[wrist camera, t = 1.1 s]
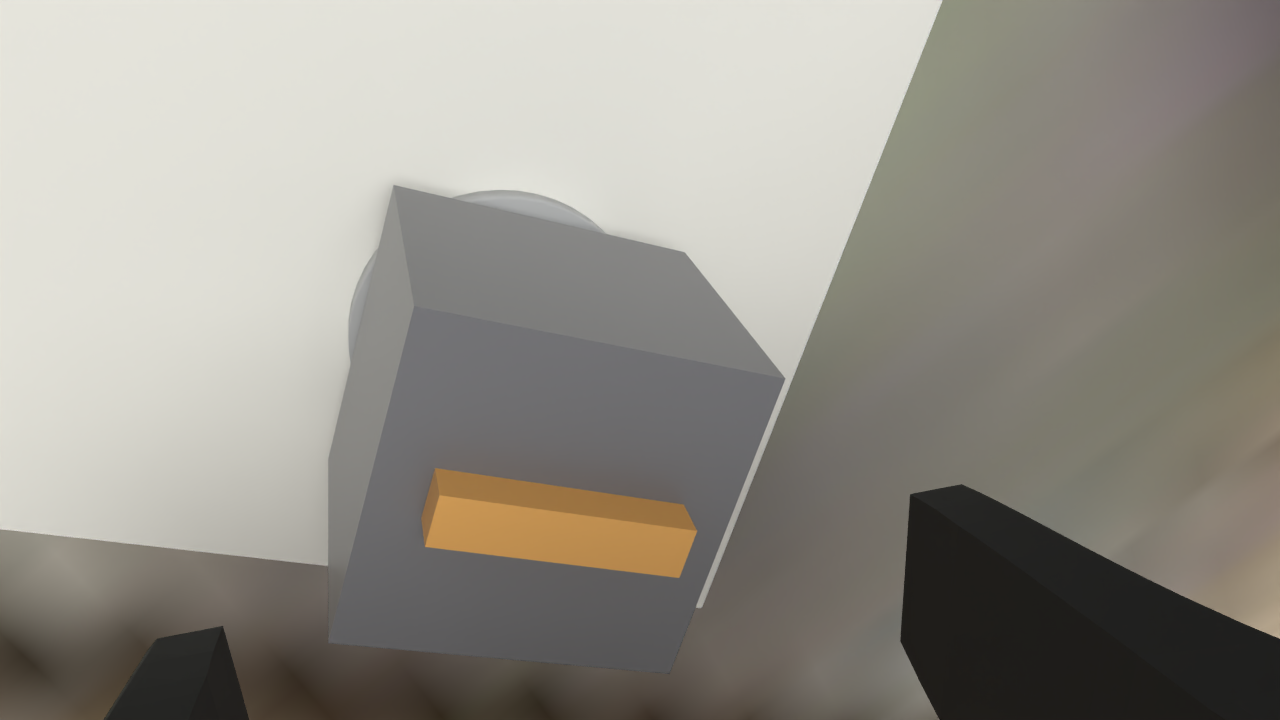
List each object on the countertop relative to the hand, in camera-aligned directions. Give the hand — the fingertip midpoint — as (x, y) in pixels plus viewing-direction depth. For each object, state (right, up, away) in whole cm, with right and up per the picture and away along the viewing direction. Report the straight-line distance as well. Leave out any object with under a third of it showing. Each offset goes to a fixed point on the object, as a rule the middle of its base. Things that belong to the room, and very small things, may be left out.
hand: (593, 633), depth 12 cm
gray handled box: (-2, +3, +6) cm, 7 cm away
